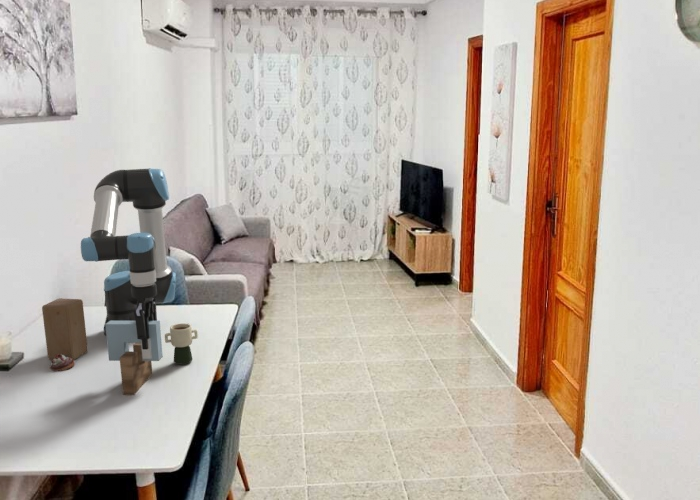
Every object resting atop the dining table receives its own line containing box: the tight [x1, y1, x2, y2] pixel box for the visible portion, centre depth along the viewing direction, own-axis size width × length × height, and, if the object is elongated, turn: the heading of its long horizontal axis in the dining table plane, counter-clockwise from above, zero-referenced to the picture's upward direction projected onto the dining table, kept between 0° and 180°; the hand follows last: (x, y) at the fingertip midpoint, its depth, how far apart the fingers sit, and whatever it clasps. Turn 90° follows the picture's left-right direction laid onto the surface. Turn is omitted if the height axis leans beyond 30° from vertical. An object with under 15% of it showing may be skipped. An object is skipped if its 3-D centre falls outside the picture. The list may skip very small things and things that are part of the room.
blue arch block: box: [104, 320, 164, 362], centre depth 211 cm, size 16×4×12 cm, turn 86°
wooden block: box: [41, 297, 89, 361], centre depth 237 cm, size 10×10×20 cm
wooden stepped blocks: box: [119, 343, 153, 396], centre depth 213 cm, size 16×4×12 cm, turn 176°
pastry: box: [49, 354, 76, 372], centre depth 229 cm, size 8×8×5 cm
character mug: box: [164, 323, 199, 365], centre depth 230 cm, size 11×7×13 cm, turn 112°
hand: (149, 355), depth 212 cm, fingers closed on blue arch block, 3 cm apart
